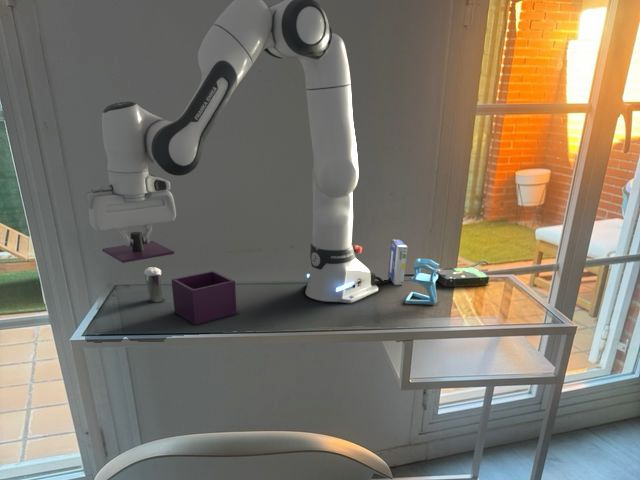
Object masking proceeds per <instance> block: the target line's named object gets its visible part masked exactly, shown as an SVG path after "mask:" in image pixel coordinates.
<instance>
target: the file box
mask: <svg viewBox="0 0 640 480" xmlns="http://www.w3.org/2000/svg"><path fill="white" fill-rule="evenodd" d="M171 288H172V299H173V300H172V301H173V307H174V313H175V314H177V315H179V316H181V317H182V318H183V319H185V320H187V321H189V322H190V323H192V324H193V325H199V324H203V323H206V322H210V321H215V320H219V319H222V318H226V317H230V316H234V315H237V292H236V281H235V280H234V279H231V278H229V277H227V276H225V275H223V274H222V273H219V272H217V271H215V270H209V271H204V272H200V273H194V274H190V275H185V276H182V277H176V278H171Z"/></svg>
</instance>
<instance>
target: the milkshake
mask: <svg viewBox="0 0 640 480" xmlns="http://www.w3.org/2000/svg"><path fill="white" fill-rule="evenodd" d="M163 267H164V265H162V266H161V268H158V267H154V266H153V267H152V266H150V267H147V268H145V270H144V271H143V274H144V279H145V282H146V288H147V292H148V298H149V302H151V303H161V302H162V301H163V288H162V286H163V285H162V271H163Z"/></svg>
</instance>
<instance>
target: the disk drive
mask: <svg viewBox="0 0 640 480" xmlns="http://www.w3.org/2000/svg"><path fill="white" fill-rule="evenodd" d="M436 275H438V279H437V280H436V281H438V282H439V283H440V284H442V285H443V286H444V287H448V288H449V287H465V286H483V285H489V282H490V276H489V275H488V274H486V273H485V272H483V271H481V270H479V269H477V267H472V268H470V267H468V266H467V267H466V266H465V267H448V268H446V267H445V268H444V267H443V268H437V271H436Z"/></svg>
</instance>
